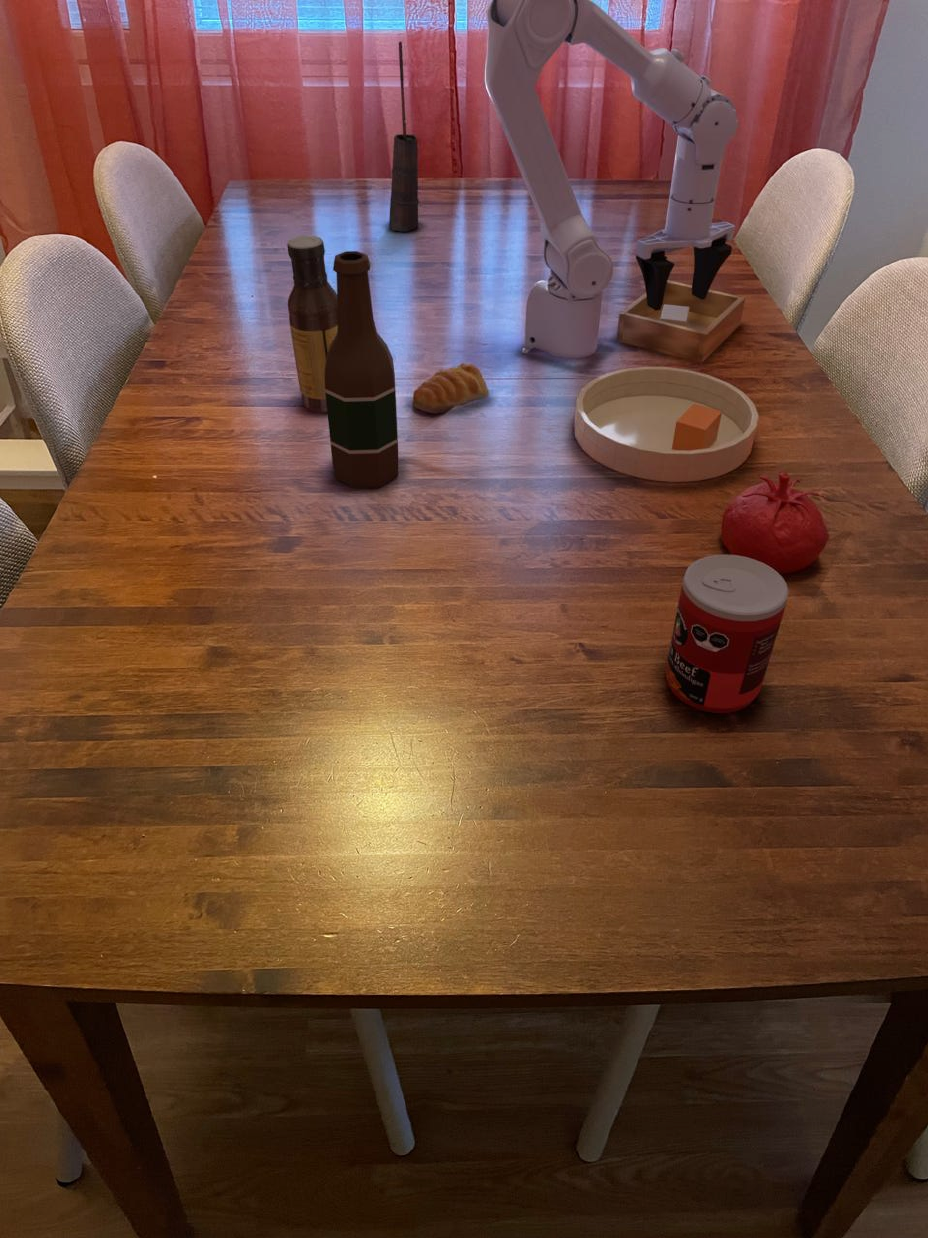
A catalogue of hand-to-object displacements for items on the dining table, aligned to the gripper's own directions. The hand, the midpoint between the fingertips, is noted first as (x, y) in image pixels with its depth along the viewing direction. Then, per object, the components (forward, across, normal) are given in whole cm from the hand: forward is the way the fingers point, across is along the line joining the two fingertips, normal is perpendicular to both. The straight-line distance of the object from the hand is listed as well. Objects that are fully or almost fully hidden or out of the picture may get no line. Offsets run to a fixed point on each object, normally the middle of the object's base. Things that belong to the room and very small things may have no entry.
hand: (676, 302), depth 128 cm
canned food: (+6, -39, -56) cm, 68 cm away
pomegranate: (+6, -23, -44) cm, 50 cm away
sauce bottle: (+6, -49, +6) cm, 50 cm away
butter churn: (+6, -12, +58) cm, 60 cm away
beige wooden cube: (+5, 0, 0) cm, 5 cm away
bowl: (+6, -18, -21) cm, 28 cm away
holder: (+6, +3, +1) cm, 6 cm away
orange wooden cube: (+5, -16, -25) cm, 30 cm away
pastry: (+6, -35, -1) cm, 35 cm away
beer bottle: (+6, -51, -11) cm, 53 cm away
